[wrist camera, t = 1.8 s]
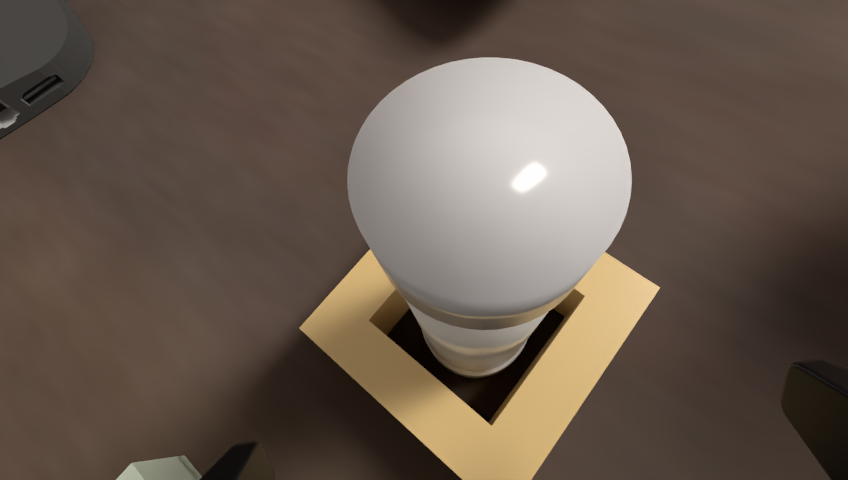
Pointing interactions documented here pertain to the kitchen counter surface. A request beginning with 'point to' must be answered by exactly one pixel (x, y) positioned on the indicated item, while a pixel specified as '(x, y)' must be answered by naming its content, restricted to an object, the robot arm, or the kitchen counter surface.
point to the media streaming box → (38, 57)
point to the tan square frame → (529, 399)
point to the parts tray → (161, 470)
